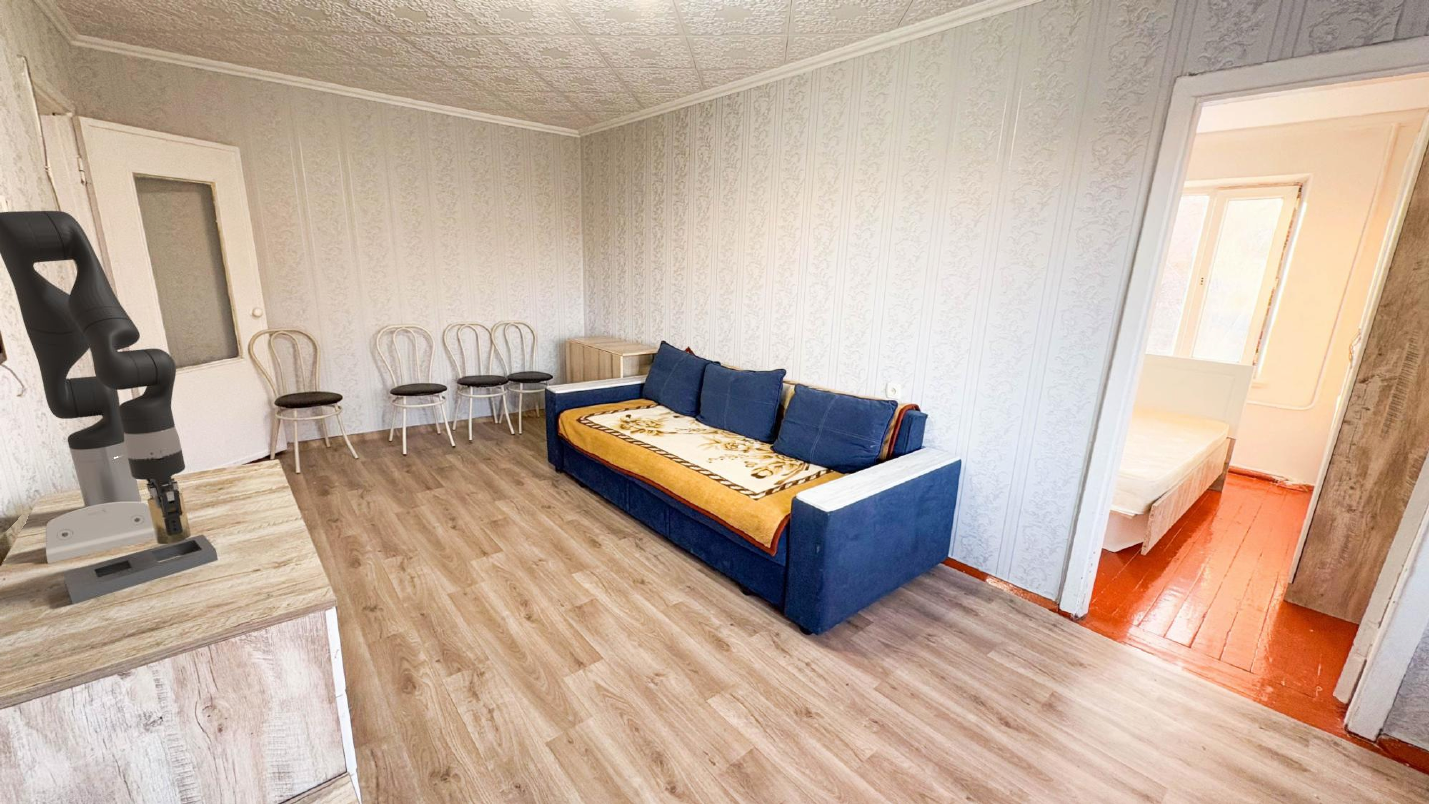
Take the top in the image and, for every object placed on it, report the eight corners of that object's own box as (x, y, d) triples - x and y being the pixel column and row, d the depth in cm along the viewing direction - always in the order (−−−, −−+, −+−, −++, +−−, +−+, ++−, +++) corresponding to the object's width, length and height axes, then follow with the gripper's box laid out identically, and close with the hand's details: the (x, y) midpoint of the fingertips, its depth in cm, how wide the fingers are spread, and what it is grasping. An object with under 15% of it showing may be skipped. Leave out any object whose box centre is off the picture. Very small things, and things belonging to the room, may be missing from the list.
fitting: (154, 538, 111) (145, 497, 109) (187, 530, 115) (179, 490, 113) (159, 546, 108) (150, 504, 106) (193, 537, 112) (185, 496, 110)
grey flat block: (65, 584, 104) (62, 572, 103) (205, 544, 120) (202, 534, 119) (72, 604, 98) (69, 592, 98) (217, 560, 114) (215, 549, 113)
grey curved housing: (44, 564, 110) (35, 515, 110) (50, 562, 114) (40, 515, 114) (161, 538, 122) (152, 494, 122) (162, 537, 125) (154, 494, 125)
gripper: (120, 447, 108) (138, 525, 112) (134, 464, 100) (154, 548, 104) (172, 439, 114) (188, 513, 118) (189, 454, 106) (206, 534, 110)
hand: (172, 529), depth 111 cm, fingers closed on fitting, 5 cm apart
